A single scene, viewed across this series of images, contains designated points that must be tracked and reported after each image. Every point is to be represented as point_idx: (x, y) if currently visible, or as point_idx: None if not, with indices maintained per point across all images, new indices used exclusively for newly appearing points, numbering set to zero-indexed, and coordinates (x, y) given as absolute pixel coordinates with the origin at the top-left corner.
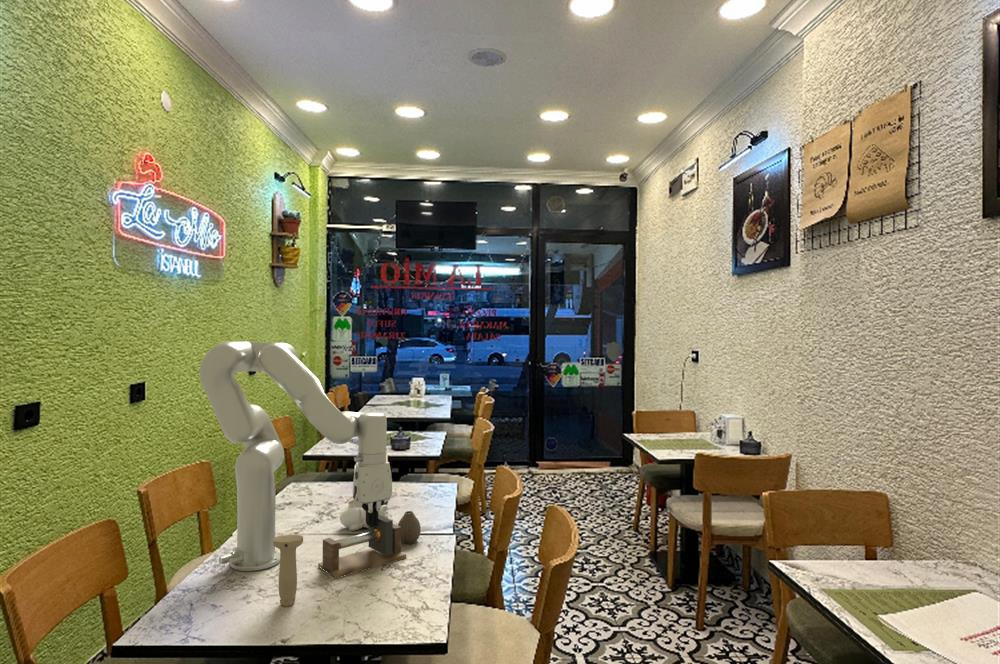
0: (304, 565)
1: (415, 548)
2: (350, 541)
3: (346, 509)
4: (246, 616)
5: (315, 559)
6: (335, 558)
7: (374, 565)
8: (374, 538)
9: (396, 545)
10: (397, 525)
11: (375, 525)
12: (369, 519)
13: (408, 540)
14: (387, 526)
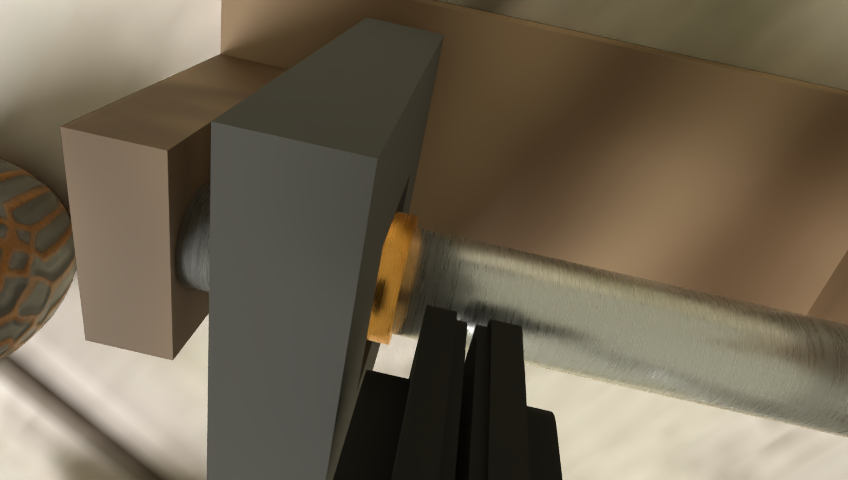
0: (812, 463)
1: (45, 64)
2: (807, 337)
3: None
4: None
5: (686, 474)
6: None
7: (591, 36)
8: (464, 239)
9: (244, 83)
10: (74, 216)
11: (456, 323)
12: (545, 458)
13: (30, 181)
14: (366, 120)
